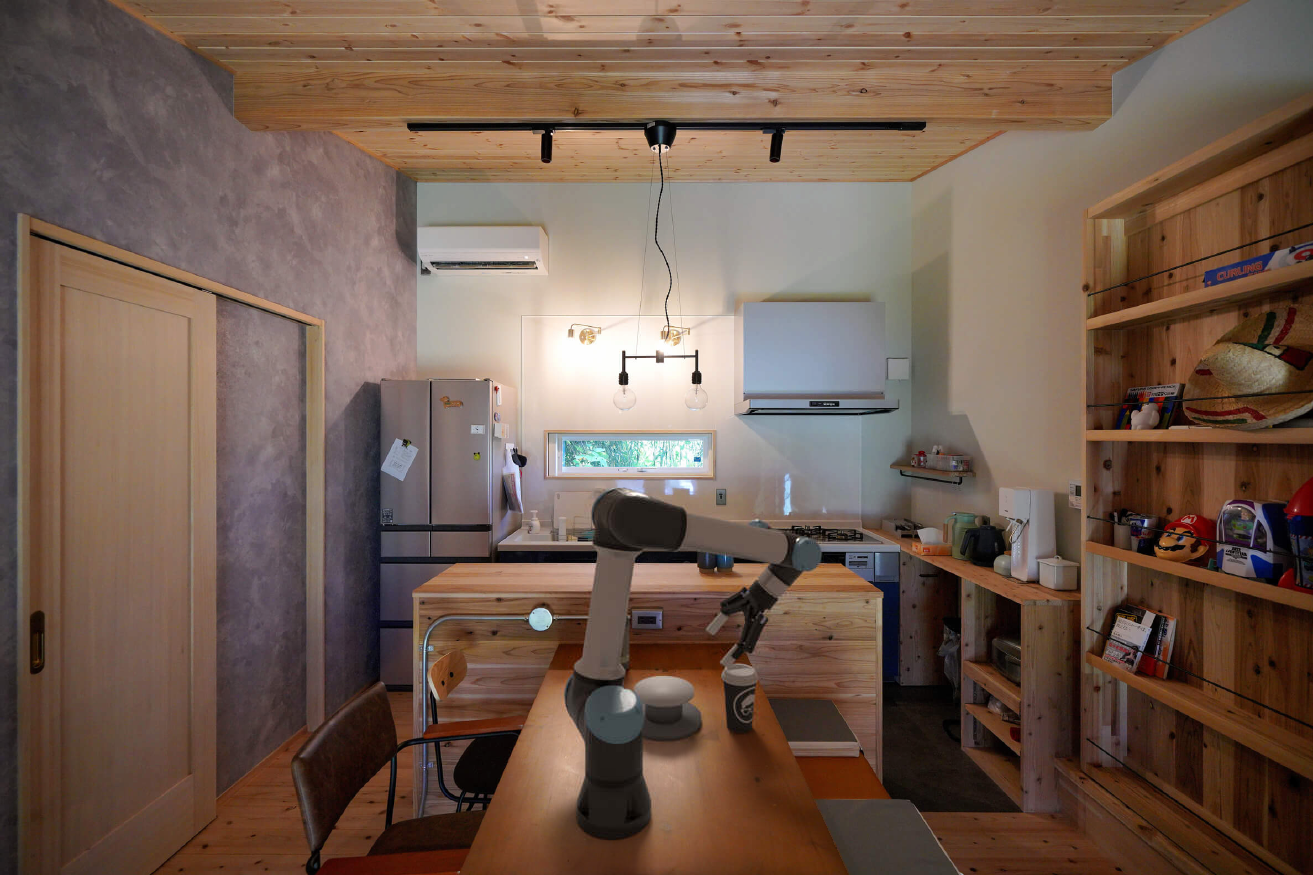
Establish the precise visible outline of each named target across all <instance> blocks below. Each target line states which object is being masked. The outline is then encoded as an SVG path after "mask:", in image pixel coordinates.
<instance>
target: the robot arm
mask: <svg viewBox="0 0 1313 875" xmlns="http://www.w3.org/2000/svg"><path fill="white" fill-rule="evenodd" d="M590 515H591V521H592V524H593V527H594V531H593V538H592V544H591V545H592V547H593V548H594V549H595V550H596V552H597V557H596V562H595V569H594V570H595V571H594V577H593V583H592V589H591V596H590V603H589V610H588V616H587V617H588V618H587V622H586V630H585V635H584V636H585V637H584V643H583V648H582V649H583V651H582V657H581V658H579V660H577V661H575V663H574V665H573V672H572V674H571V675H569V677H568V679H567V681H566V683H565V687H564V691H563V692H564V693H563V694H564V695H563V698H564V699H563V700H564V704H565V708H566V711H567V714H568V716H569V717H570V718H571V719H572V721H573V723H574V725H575V727H576V728H577V730H578V733H579V734H580V736H581V738H582V740H583V743H584V747H585V748H584V749H585V750H584V756H585V759H584V763H585V764H584V767H585V768H584V778H583V782H582V785H581V787H580V791H579V793H578V796H577V801H576V807H575V808H576V810H575V812H576V815H575V816H576V817H575V818H576V822H577V824H578V826H579V827H580V828H581V829H582V831H584V832H585V833H586V834H588V835H590V836H592V837H595V838H598V839H604V840H617V839H618V840H619V839H623V838H628V837H631V836H633V835H635V834H637V833H638V832H640V831H641V830H643V829H644V828H645V827H646V826H647V825H648V823H649V822H650V820H651V817H652V798H651V795H650V792H649V789H648V785H647V783H646V779H645V775H644V770H643V767H644V766H643V764H644V761H643V760H644V753H643V752H644V738H643V723H644V715H643V707H642V702H641V700H640V698H639V697H638V695H637V694H636V693H635V692H634V690H631V689H630V688H625V687H624V683H625V676H626V670H625V669H624V668H623V666H622V665H621V664H620V658H621V651H622V644H623V637H624V630H625V623H626V616H628V610H629V609H628V608H629V601H630V594H631V587H632V582H633V574H634V569H635V568H634V567H635V561H636V558H637V557H638V556H639V555H640V554H642V553H643V551H644V549H646V550H647V549H648V550H649V549H650V550H657V551H658V550H659V551H660V550H661V551H667V552H674V553H675V552H678V551H679V550H681V549H686V550H689V551H690V550H691V551H695V552H703V553H709V554H713V555H714V554H715V555H722V556H726V557H732V558H738V559H744V560H749V561H755V562H760V563H761V562H762V563H768V565H767V566H766V567H765V568H764V569H763V571H762V572H761V573H760V574H759V576H758V577H757V579H756V580H754V581H753V583H752V584H751V585H750V586H749V587H745V586H743V587H742V588H741V589H740V590H739V591H738V592H736V593H734V594H732V595H731V596H729V597H728V598H726V599H725V600H723V601H721V602H720V604H719V606H721V607H720V611H719V613H717V615H716V616H715V617H714V618H713V620H712V621H711V622H710V624H709V625H708V626H707V627H706V628H705V631H706V632H708V633H709V634H711V635H713V636H714V635H715V634H716V633H717V632H718V631H719V630H720V628H722V626H723V625H724V624H725V623H726V622H727V621H728V619H729V617H730V616H731V615H734V614H736V613H737V614H738V613H743V616H744V623H743V627H742V631H741V635H740V638H739V641H738V642H736V643H735V644H734V645H733V646H732V647H731V649H730V650H729V651H728V652H727V653H726V654H725V655H724V657H723V658H721V660H720V661H719V663H720V665H723V666H724V668H725V667H727V668H729V667H730V666H731V665H732V664H735V662H736V661H737V660H738V659H740V657H741V656H742V655H743V654H744V653H745V652H746V653H748V654H749V655H751V654H753V652H754V650H755V647H756V645H757V643H758V641H759V638H760V637H761V633H762V631H763V630H764V627H765V626H766V625H767V623H768V622H769V618H768V617H767V616H766V615H764V613H765V611H766V610H771V609H772V608H773V607H774V606H775V605H776V603H777V602H778V601H779V598H781V597H782V596H783V595H784V594H785V593H786V592H787V591H788V589H789V588H790V587H791V586H792V585H793V584H794V583H795V582H796V580H797V579H798V578H800V577H801V575H802V574H803V573H805V572H807V573H808V572H811V571H813V570H815V569H817V567H818V566H819V565H820V564H821V559H822V549H821V548H822V547H821V546H820V544H819V543H818V542H817V541H816V540H814V539H811V538H810V537H808V536H802V535H799V534H795V533H791V532H787V531H784V530H781V529H777V528H774V527H772V526H770V525H769V524H768V523H767V522H765V521H763V520H761V519H758V518H757V519H756V518H755V519H753V520H751V521H749V523H747V524H744V523H740V522H736V521H735V522H734V521H730V520H725V519H719V518H715V517H711V516H705V515H699V514H696V513H690V512H687V510H686V508H684V506H679V505H675V504H672V503H668V502H665V501H663V500H661V499H658V498H655V497H653V496H651V495H649V494H646V493H644V492H640V491H636V490H633V489H631V488H627V487H612V488H608V489H607V490H604V491H603V492H602V493H600V494H599V495H598V496H597V498H595V500H594V502H593V504H592V506H591V514H590Z"/></svg>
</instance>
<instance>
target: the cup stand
mask: <svg viewBox="0 0 1313 875" xmlns="http://www.w3.org/2000/svg"><path fill="white" fill-rule="evenodd" d="M633 692H635V693H636V694H637V695H638V697H639V698H640V700H641V702H642V707H643V715H644V723H643V739H647V740H651V741H656V742H657V741H658V742H671V741H678V740H683V739H685V738H688V737H690V736H693V735H694V734H696V733H697V731H699V730H700V728H701V726H702V713H701V711H700V709H699V708H698V707H697V706H696V705H694V704H692V703H691V702H690V701H691V700H692V699H693V698H694V696H695V689H694V686H693V685H692V683H690V682H689V681H688V680H686V679H683V678H681V677H676V676H669V675H658V676H657V675H656V676H651V677H647V678H644V679H642V680H640V681H638V682H637V683H636V684H635V685H634V687H633Z"/></svg>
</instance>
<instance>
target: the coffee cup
mask: <svg viewBox="0 0 1313 875" xmlns="http://www.w3.org/2000/svg"><path fill="white" fill-rule="evenodd" d="M720 677H721V680H722V681H723V691H724V692H723V693H724V706H725V717H726V718H725V719H726V728H727V729H728V730H729V731H730V732H733V733H737V734H746V733H748V732H750V731H751V730H752V729H753V720H754V709H755V708H754V707H755V698H756V696H755V695H756V688H757V687H756V686H757V683H758V681H759V677H758V674H757V672H756V670H755V668H754V667H753V666H752V665H748V664H744V663H733V664H732V665H731V666H730V667H729V668H727V667H725V666H724V669H723V671H722V673H721V676H720Z"/></svg>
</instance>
